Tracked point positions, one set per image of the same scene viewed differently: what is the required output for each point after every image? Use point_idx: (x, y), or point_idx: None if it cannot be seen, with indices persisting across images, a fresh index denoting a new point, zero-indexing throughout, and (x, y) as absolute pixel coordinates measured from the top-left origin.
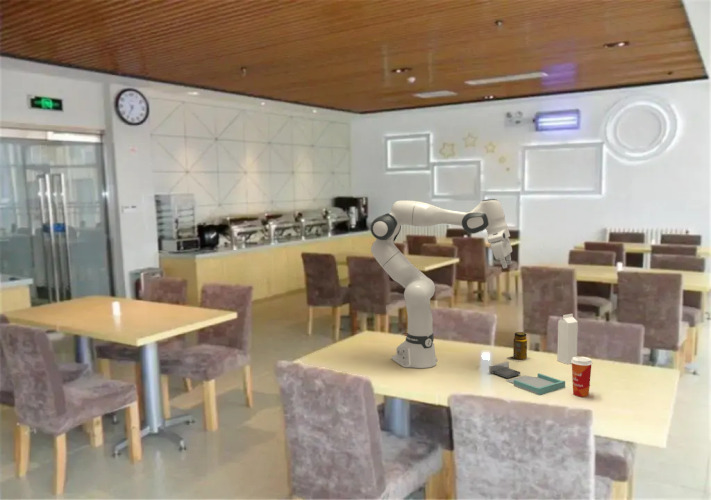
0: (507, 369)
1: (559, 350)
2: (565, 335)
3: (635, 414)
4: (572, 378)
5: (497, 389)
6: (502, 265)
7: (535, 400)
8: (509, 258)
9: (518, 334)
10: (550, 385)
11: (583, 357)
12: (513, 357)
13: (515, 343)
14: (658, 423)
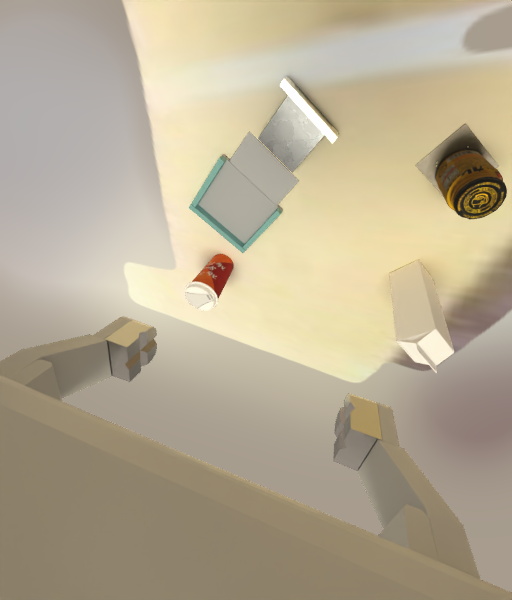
0: (307, 137)
1: (415, 277)
2: (400, 312)
3: (182, 302)
4: (210, 266)
5: (188, 116)
6: (101, 333)
7: (168, 194)
8: (374, 491)
9: (463, 192)
10: (213, 227)
11: (209, 303)
12: (464, 149)
13: (459, 170)
14: (169, 313)
